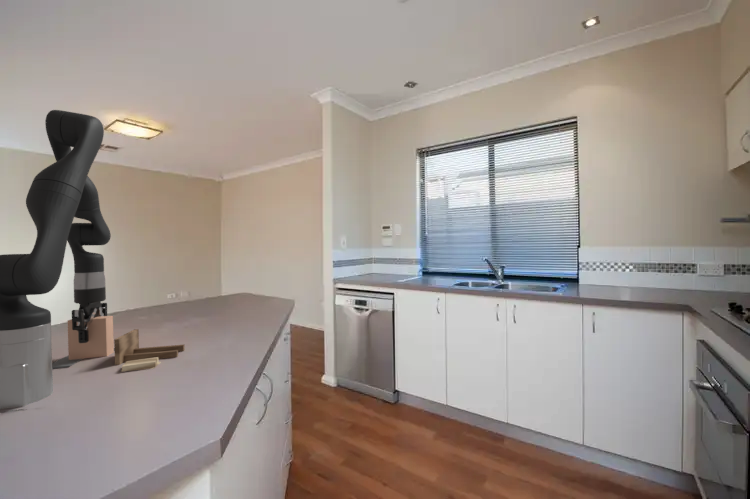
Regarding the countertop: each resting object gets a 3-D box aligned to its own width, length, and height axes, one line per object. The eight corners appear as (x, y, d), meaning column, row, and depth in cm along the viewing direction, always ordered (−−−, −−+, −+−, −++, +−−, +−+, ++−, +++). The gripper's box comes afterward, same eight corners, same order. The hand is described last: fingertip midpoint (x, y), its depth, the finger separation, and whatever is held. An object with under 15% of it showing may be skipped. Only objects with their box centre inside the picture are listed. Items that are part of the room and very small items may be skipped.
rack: (174, 362, 98) (173, 335, 98) (115, 367, 94) (114, 339, 94) (187, 349, 110) (186, 325, 110) (134, 354, 106) (134, 329, 106)
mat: (107, 363, 97) (107, 362, 97) (42, 369, 94) (41, 367, 94) (133, 347, 113) (133, 346, 113) (78, 352, 109) (78, 350, 109)
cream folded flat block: (154, 373, 91) (153, 368, 91) (120, 377, 89) (120, 371, 89) (161, 367, 96) (160, 362, 96) (129, 370, 94) (129, 365, 94)
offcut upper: (155, 367, 92) (155, 361, 92) (122, 372, 89) (121, 366, 89) (158, 362, 96) (158, 356, 96) (126, 366, 93) (126, 361, 93)
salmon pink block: (106, 356, 102) (105, 318, 102) (68, 359, 100) (67, 320, 100) (113, 352, 106) (112, 315, 106) (77, 355, 104) (76, 317, 104)
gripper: (90, 288, 97) (91, 344, 97) (116, 283, 111) (117, 332, 111) (59, 290, 95) (61, 347, 95) (89, 284, 109) (91, 334, 109)
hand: (91, 339), depth 103 cm, fingers open, 7 cm apart
